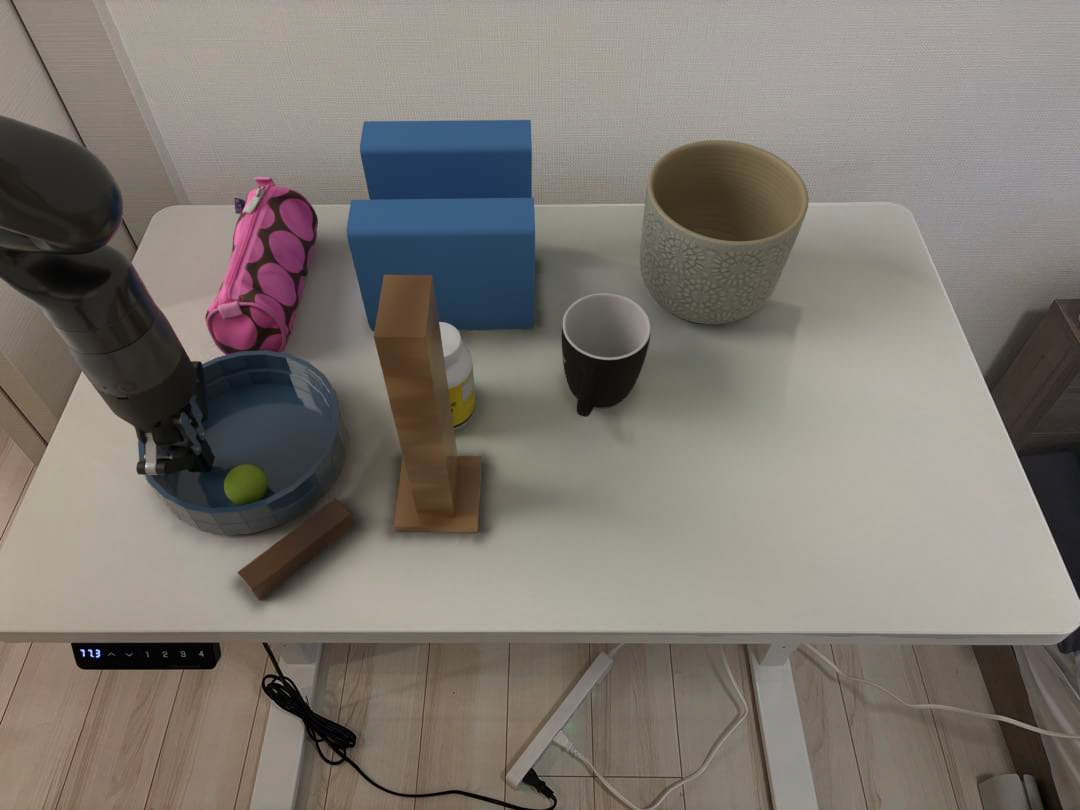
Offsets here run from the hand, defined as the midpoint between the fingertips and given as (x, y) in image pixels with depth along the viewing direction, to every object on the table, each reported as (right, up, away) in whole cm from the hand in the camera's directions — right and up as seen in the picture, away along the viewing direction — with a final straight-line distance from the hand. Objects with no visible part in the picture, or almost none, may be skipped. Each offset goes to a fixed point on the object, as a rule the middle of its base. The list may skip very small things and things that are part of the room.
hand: (203, 465), depth 79 cm
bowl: (+4, +1, +3) cm, 5 cm away
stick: (+11, -7, -6) cm, 14 cm away
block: (+24, +19, +16) cm, 35 cm away
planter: (+53, +20, +17) cm, 59 cm away
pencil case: (+2, +19, +15) cm, 24 cm away
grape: (+5, -2, -3) cm, 6 cm away
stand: (+24, -3, 0) cm, 24 cm away
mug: (+40, +7, +8) cm, 41 cm away
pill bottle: (+24, +5, +6) cm, 25 cm away
